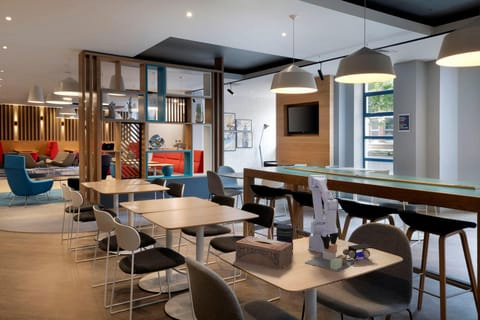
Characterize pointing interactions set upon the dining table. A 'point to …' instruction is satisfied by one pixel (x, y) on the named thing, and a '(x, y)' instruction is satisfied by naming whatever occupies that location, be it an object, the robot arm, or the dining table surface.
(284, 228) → the storage jar
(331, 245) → the terracotta brick
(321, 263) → the felt mat
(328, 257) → the pale grey brick
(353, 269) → the dining table surface
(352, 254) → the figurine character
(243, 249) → the tissue box cover
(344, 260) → the walnut brick
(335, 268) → the sage brick
